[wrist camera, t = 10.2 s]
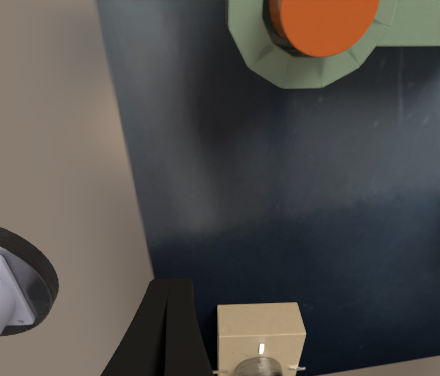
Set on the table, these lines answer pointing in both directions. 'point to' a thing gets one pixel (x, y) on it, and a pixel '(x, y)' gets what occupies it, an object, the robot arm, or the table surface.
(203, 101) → the table surface
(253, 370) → the dial
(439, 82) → the table surface
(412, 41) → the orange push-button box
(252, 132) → the table surface
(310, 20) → the push button
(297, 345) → the beige rotary knob box
